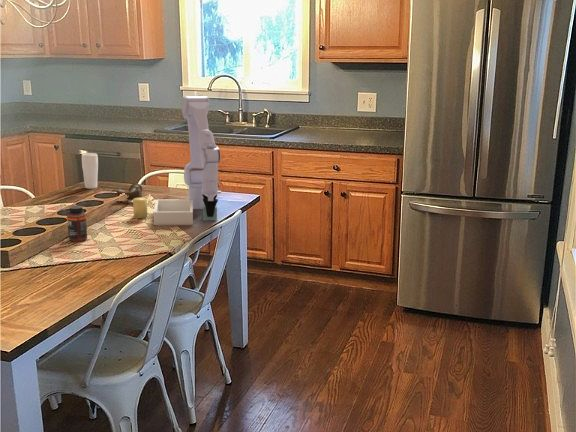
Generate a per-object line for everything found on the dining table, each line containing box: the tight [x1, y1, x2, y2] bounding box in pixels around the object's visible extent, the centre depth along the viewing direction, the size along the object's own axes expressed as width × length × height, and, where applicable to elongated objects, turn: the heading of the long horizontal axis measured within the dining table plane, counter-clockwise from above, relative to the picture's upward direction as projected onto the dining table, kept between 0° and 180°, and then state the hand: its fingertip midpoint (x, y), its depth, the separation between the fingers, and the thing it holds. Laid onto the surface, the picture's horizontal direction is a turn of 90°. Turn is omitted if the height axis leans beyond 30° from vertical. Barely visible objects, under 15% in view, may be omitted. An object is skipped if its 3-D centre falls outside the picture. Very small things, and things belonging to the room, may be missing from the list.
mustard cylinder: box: [132, 197, 148, 219], centre depth 234 cm, size 5×5×7 cm
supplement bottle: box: [66, 205, 88, 243], centre depth 206 cm, size 6×6×11 cm
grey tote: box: [153, 199, 194, 227], centre depth 235 cm, size 18×14×5 cm
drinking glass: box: [81, 152, 99, 190], centre depth 273 cm, size 7×7×15 cm
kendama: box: [116, 182, 143, 201], centre depth 258 cm, size 6×10×20 cm
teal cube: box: [202, 203, 218, 221], centre depth 237 cm, size 5×5×5 cm
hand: (210, 214), depth 237 cm, fingers closed on teal cube, 5 cm apart
